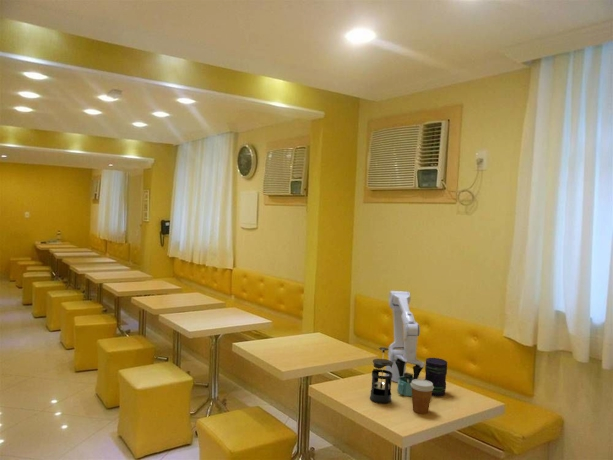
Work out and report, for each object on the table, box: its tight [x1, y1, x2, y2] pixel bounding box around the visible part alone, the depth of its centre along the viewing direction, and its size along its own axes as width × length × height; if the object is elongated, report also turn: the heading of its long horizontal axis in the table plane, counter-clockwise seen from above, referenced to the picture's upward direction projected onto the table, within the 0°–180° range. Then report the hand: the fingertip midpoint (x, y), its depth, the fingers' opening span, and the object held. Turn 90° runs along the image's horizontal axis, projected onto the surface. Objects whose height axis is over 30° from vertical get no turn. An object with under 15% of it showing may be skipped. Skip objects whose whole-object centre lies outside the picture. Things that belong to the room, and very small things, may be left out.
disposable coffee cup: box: [411, 378, 434, 415], centre depth 192 cm, size 10×10×12 cm
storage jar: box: [424, 357, 448, 398], centre depth 214 cm, size 10×10×15 cm
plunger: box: [404, 372, 414, 383], centre depth 212 cm, size 6×6×8 cm
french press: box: [369, 346, 393, 405], centre depth 202 cm, size 12×9×23 cm
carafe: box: [397, 376, 413, 397], centre depth 212 cm, size 8×10×6 cm
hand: (408, 378), depth 212 cm, fingers open, 7 cm apart
